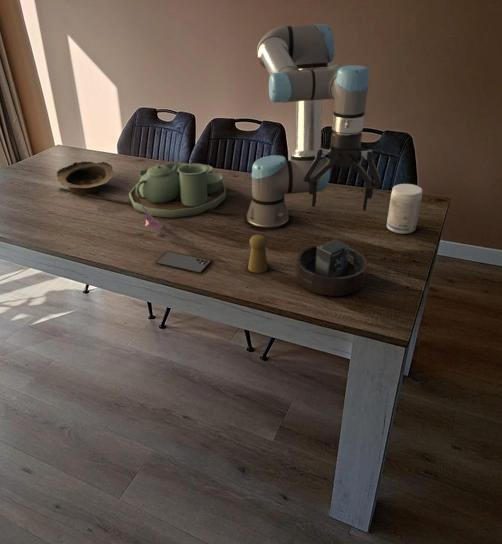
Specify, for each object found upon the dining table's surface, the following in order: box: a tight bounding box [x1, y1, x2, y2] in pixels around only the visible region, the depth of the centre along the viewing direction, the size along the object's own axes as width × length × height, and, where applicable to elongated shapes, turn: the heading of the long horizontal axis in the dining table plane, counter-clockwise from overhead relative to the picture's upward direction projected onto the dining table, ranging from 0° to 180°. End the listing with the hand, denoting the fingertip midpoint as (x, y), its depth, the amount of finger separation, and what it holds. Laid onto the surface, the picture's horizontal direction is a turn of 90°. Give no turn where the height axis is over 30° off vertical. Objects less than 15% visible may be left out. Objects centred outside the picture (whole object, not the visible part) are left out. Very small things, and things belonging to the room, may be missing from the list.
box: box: [314, 238, 351, 277], centre depth 146 cm, size 8×6×11 cm
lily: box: [140, 206, 163, 236], centre depth 181 cm, size 12×12×10 cm
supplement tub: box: [386, 183, 423, 235], centre depth 170 cm, size 10×10×15 cm
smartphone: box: [156, 251, 211, 273], centre depth 163 cm, size 8×1×16 cm
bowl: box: [295, 244, 368, 297], centre depth 148 cm, size 20×20×6 cm
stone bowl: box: [56, 161, 115, 196], centre depth 221 cm, size 25×25×9 cm
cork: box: [247, 234, 269, 274], centre depth 155 cm, size 6×6×11 cm
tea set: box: [128, 162, 227, 218], centre depth 204 cm, size 40×40×16 cm
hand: (338, 206), depth 140 cm, fingers open, 13 cm apart
